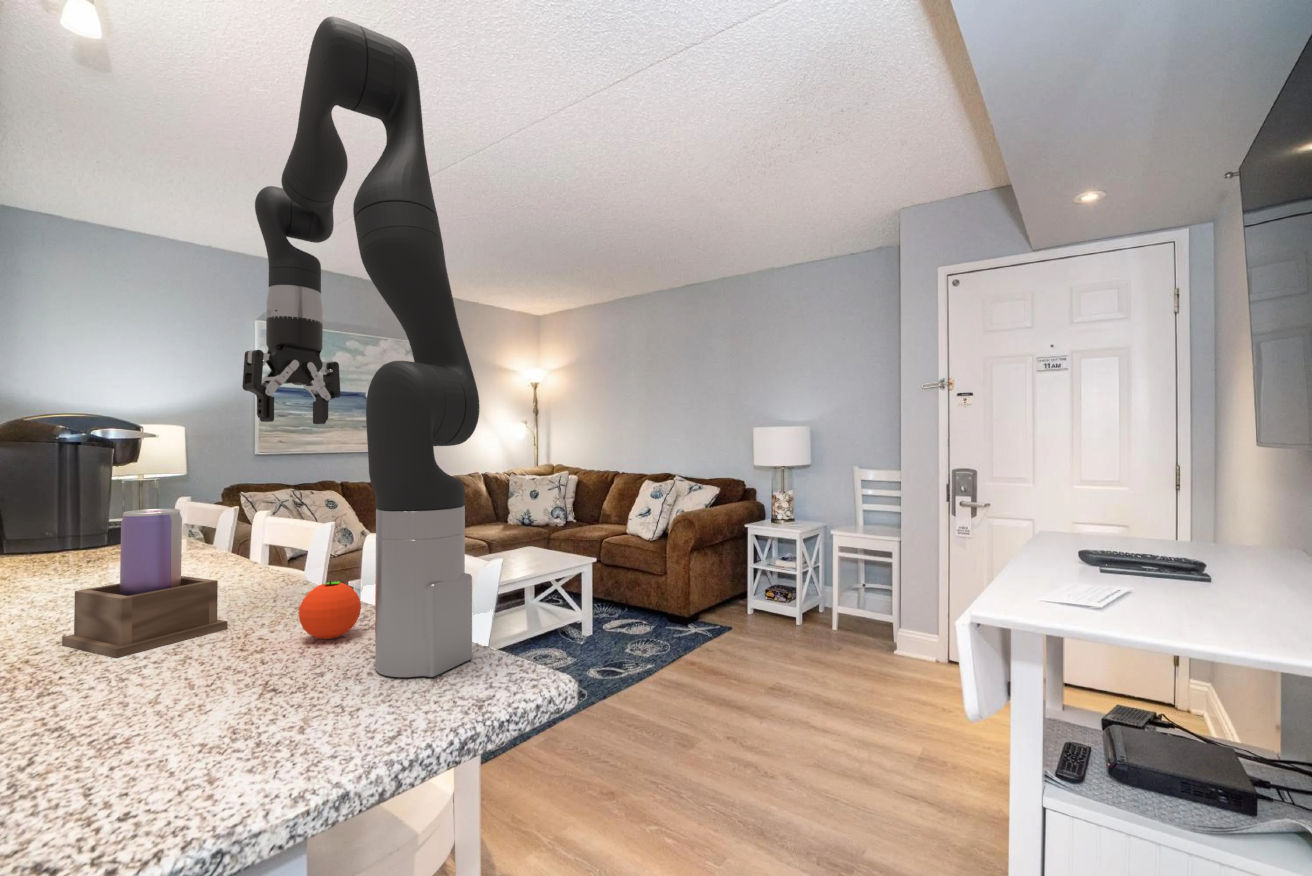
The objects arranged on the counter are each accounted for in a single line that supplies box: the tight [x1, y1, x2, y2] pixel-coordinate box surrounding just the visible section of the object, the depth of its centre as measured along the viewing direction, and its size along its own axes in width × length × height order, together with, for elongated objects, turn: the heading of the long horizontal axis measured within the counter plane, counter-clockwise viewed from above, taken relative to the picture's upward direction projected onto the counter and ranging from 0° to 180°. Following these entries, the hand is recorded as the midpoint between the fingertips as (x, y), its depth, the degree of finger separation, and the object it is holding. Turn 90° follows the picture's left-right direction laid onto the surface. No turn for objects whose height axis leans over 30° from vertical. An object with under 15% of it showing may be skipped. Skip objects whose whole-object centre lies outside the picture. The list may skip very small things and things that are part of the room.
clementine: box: [298, 580, 362, 640], centre depth 75 cm, size 8×7×7 cm
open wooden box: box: [61, 575, 228, 659], centre depth 76 cm, size 12×12×6 cm
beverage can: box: [119, 508, 183, 596], centre depth 76 cm, size 6×6×15 cm
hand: (294, 422), depth 92 cm, fingers open, 8 cm apart
